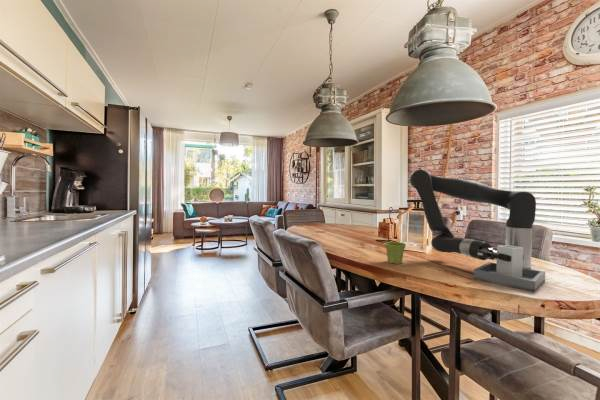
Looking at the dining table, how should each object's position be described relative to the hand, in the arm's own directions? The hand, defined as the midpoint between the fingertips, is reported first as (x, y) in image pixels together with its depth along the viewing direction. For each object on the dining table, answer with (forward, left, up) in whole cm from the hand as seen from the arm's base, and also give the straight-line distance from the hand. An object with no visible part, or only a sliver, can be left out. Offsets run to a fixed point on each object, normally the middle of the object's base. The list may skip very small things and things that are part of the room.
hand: (516, 258), depth 103 cm
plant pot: (+9, -43, -9) cm, 45 cm away
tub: (-1, -2, -7) cm, 8 cm away
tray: (-1, -2, -9) cm, 9 cm away
